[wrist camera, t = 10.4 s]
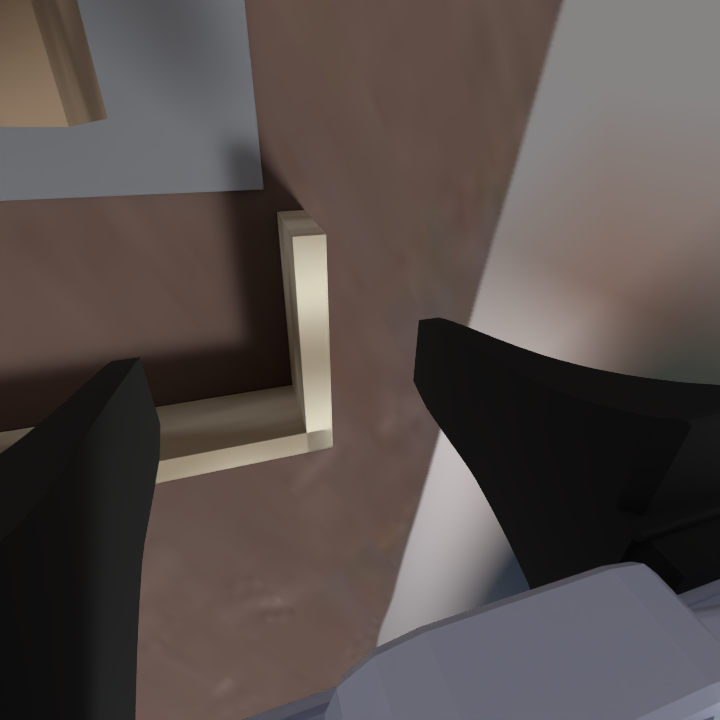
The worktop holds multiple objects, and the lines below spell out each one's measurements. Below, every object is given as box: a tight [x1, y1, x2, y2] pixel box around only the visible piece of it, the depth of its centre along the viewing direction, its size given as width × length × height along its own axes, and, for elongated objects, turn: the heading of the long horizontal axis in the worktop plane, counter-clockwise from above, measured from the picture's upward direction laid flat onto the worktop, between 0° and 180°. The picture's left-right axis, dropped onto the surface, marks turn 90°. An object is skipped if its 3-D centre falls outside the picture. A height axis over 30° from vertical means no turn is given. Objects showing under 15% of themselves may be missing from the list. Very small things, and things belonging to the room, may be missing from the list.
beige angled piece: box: [0, 210, 333, 483], centre depth 17 cm, size 10×18×4 cm, turn 89°
